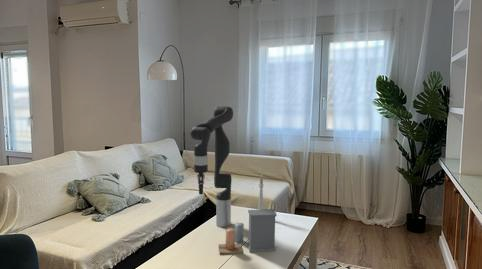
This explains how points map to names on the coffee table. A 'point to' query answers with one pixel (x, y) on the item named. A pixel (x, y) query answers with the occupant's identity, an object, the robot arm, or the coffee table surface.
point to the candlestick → (261, 193)
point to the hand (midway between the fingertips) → (201, 191)
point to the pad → (235, 251)
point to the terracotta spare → (230, 239)
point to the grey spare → (239, 232)
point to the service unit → (261, 230)
